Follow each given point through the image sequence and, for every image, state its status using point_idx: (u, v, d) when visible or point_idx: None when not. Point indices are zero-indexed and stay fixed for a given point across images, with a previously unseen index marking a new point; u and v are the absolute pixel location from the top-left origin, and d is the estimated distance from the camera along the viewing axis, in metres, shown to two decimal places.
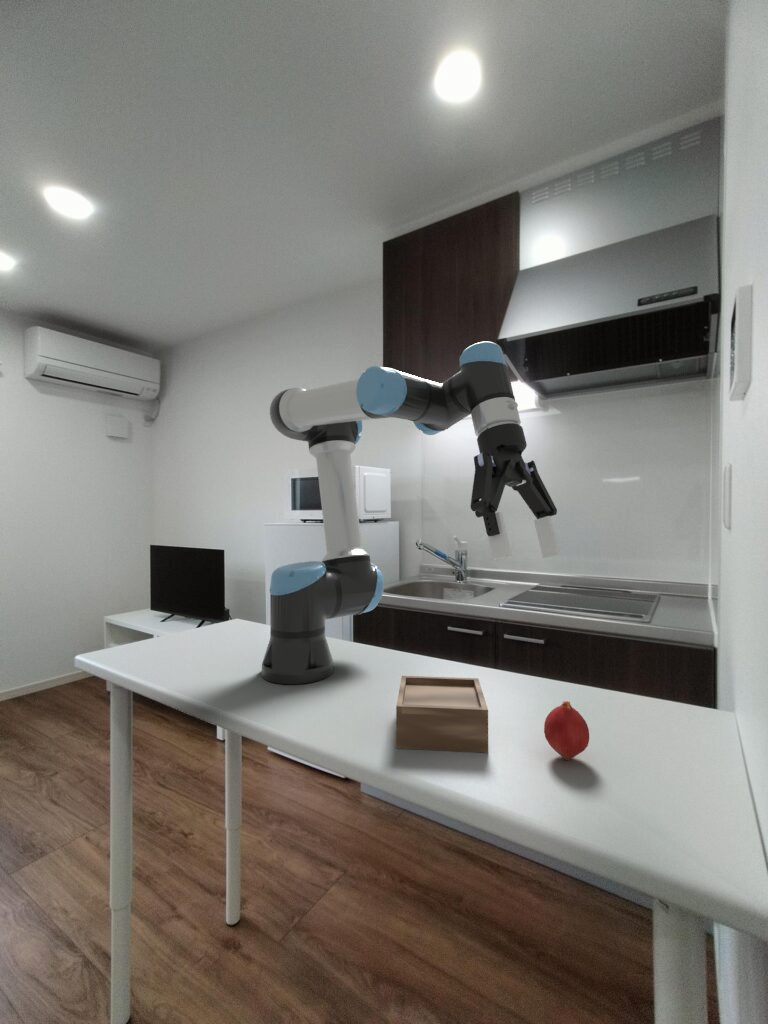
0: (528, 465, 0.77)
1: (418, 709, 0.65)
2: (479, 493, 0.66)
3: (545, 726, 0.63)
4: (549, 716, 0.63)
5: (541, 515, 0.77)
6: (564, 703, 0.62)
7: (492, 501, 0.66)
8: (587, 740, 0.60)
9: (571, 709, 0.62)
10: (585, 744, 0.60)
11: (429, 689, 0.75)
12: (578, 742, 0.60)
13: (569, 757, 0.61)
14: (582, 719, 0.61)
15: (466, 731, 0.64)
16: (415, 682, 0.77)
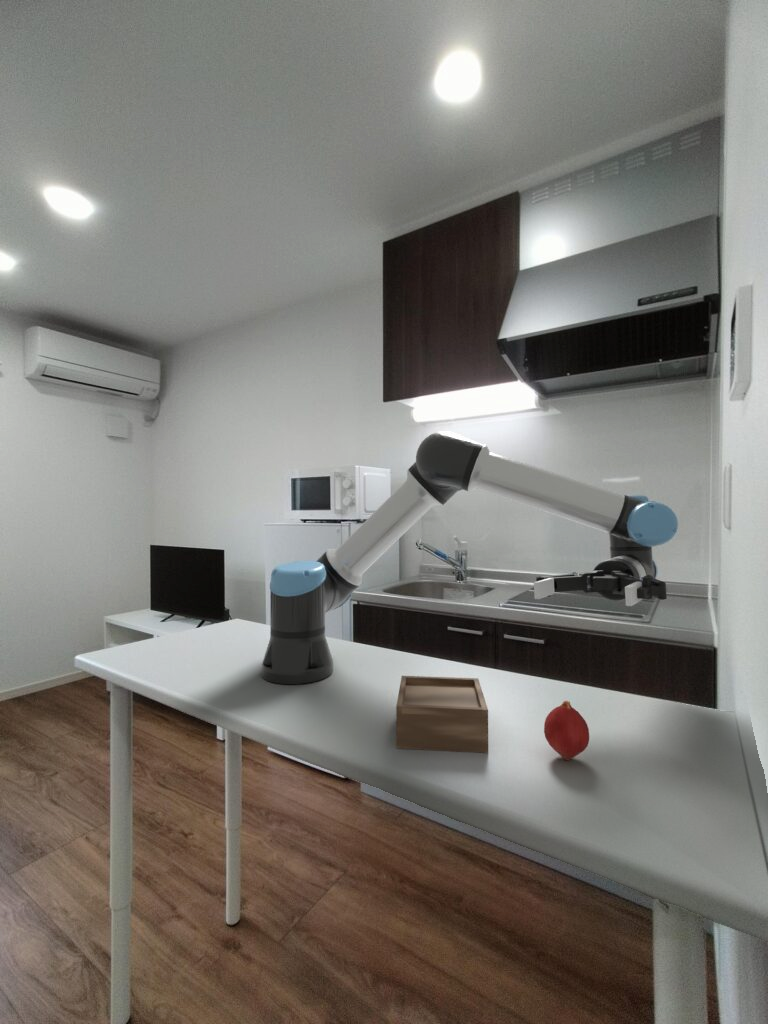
0: None
1: (418, 709, 0.65)
2: None
3: (545, 726, 0.63)
4: (549, 716, 0.63)
5: None
6: (564, 703, 0.62)
7: None
8: (587, 740, 0.60)
9: (571, 709, 0.62)
10: (585, 744, 0.60)
11: (429, 689, 0.75)
12: (578, 742, 0.60)
13: (569, 757, 0.61)
14: (582, 719, 0.61)
15: (466, 731, 0.64)
16: (415, 682, 0.77)
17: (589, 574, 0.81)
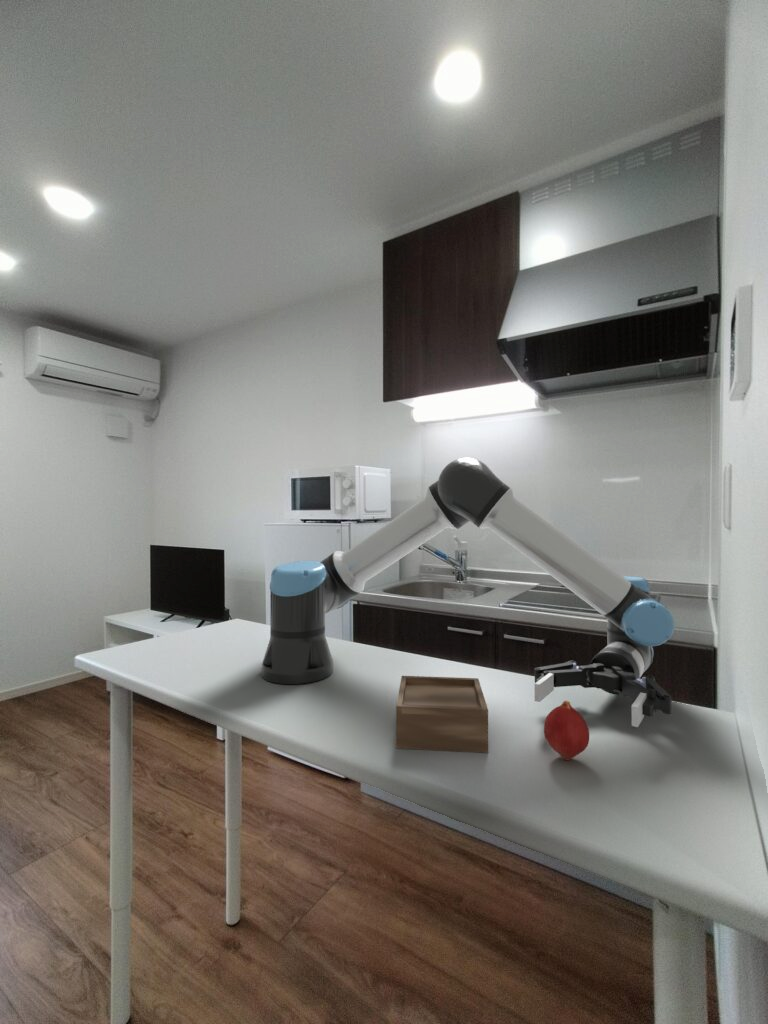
0: None
1: (418, 709, 0.65)
2: None
3: (545, 726, 0.63)
4: (549, 716, 0.63)
5: None
6: (564, 703, 0.62)
7: None
8: (587, 740, 0.60)
9: (571, 709, 0.62)
10: (585, 744, 0.60)
11: (429, 689, 0.75)
12: (578, 742, 0.60)
13: (569, 757, 0.61)
14: (582, 719, 0.61)
15: (466, 731, 0.64)
16: (415, 682, 0.77)
17: (589, 669, 0.78)
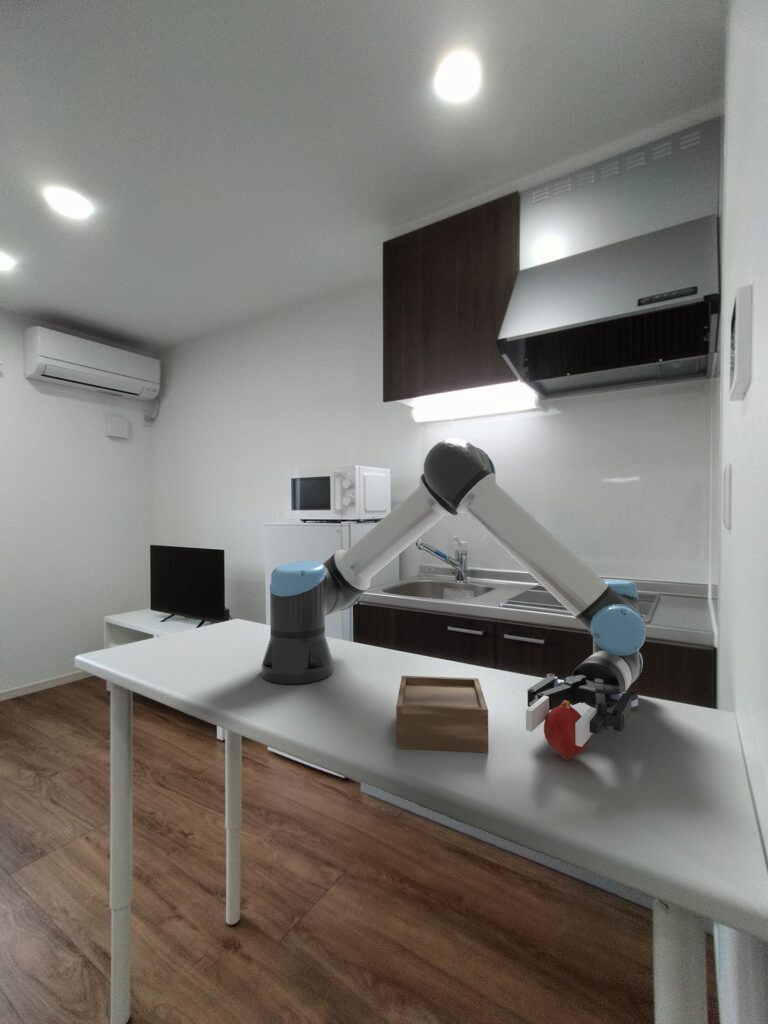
0: None
1: (418, 709, 0.65)
2: (624, 719, 0.62)
3: (545, 726, 0.63)
4: (548, 716, 0.63)
5: None
6: (563, 703, 0.62)
7: None
8: (587, 740, 0.60)
9: (570, 709, 0.62)
10: (584, 744, 0.60)
11: (429, 689, 0.75)
12: None
13: (569, 757, 0.61)
14: None
15: (466, 731, 0.64)
16: (415, 682, 0.77)
17: (576, 683, 0.70)
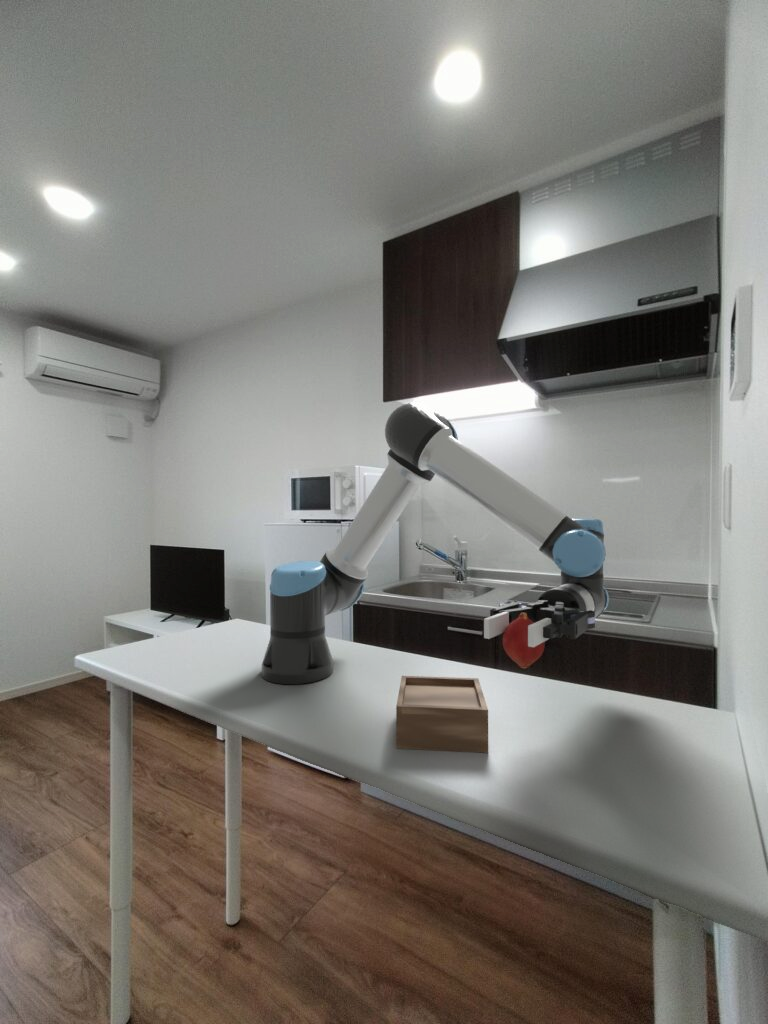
0: None
1: (418, 709, 0.65)
2: (578, 629, 0.65)
3: (503, 637, 0.66)
4: (507, 627, 0.66)
5: None
6: (521, 614, 0.65)
7: None
8: (542, 647, 0.63)
9: (527, 620, 0.65)
10: (539, 650, 0.63)
11: (429, 689, 0.75)
12: (533, 647, 0.63)
13: (525, 664, 0.64)
14: None
15: (466, 731, 0.64)
16: (415, 682, 0.77)
17: (537, 605, 0.73)
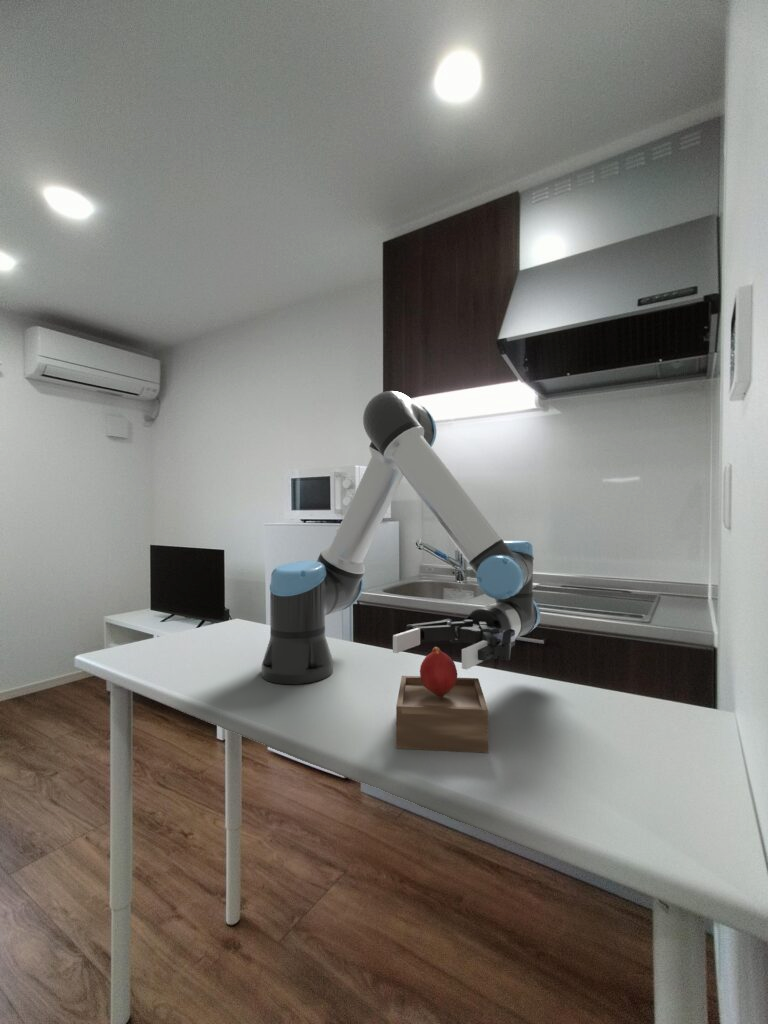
0: None
1: (418, 709, 0.65)
2: None
3: (420, 670, 0.71)
4: (423, 661, 0.71)
5: None
6: (433, 649, 0.70)
7: None
8: (453, 679, 0.69)
9: (440, 654, 0.70)
10: (451, 682, 0.69)
11: None
12: (444, 681, 0.68)
13: (440, 694, 0.70)
14: (449, 661, 0.70)
15: (466, 731, 0.64)
16: (415, 682, 0.77)
17: (458, 624, 0.80)
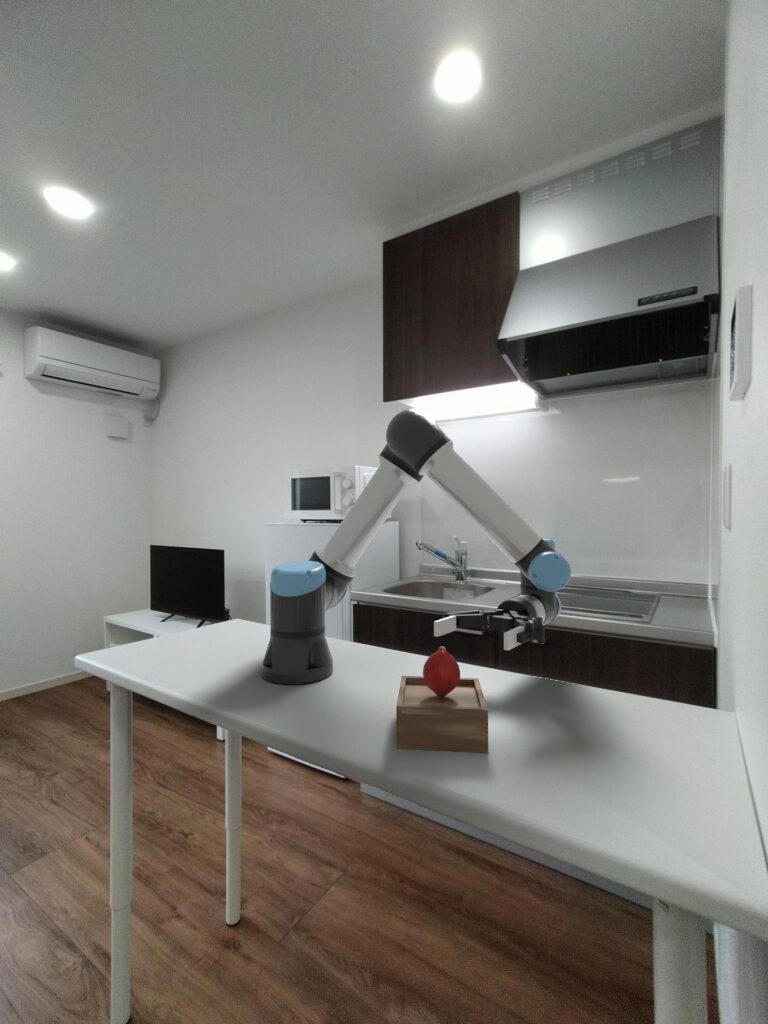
0: None
1: (418, 709, 0.65)
2: None
3: (423, 668, 0.72)
4: (427, 659, 0.72)
5: None
6: (439, 648, 0.71)
7: None
8: (456, 679, 0.69)
9: (445, 653, 0.71)
10: (453, 682, 0.69)
11: (429, 689, 0.75)
12: (447, 679, 0.69)
13: (441, 694, 0.70)
14: (454, 661, 0.70)
15: (466, 731, 0.64)
16: (415, 682, 0.77)
17: (489, 613, 0.89)
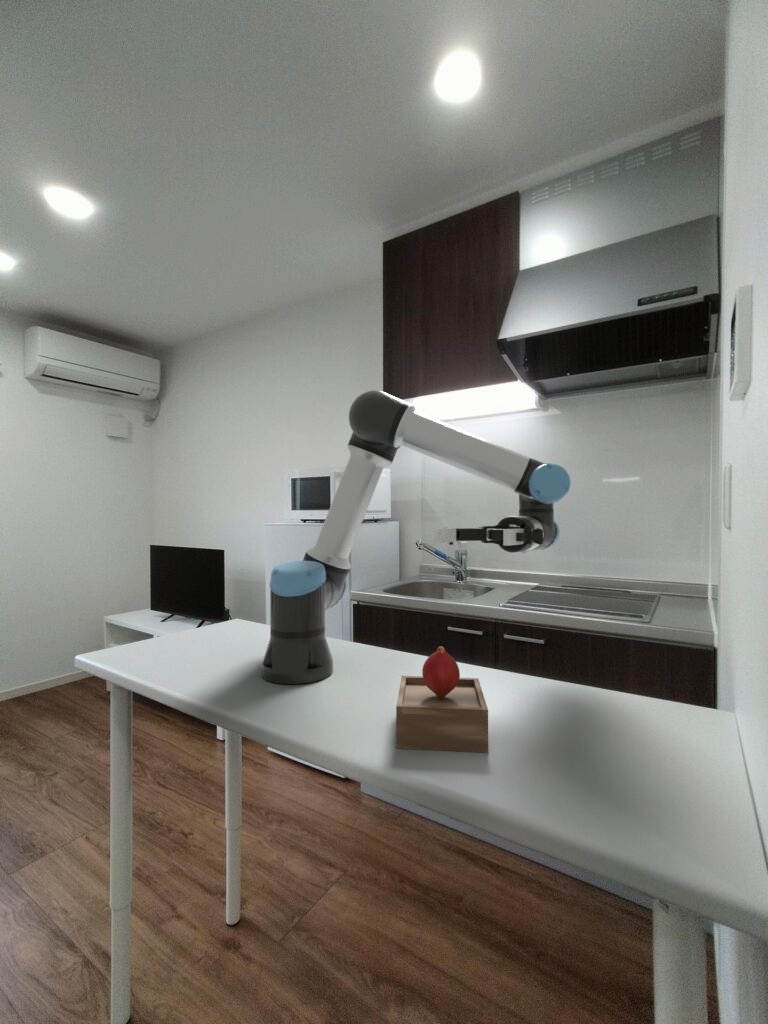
0: None
1: (418, 709, 0.65)
2: None
3: (423, 669, 0.72)
4: (426, 660, 0.72)
5: None
6: (438, 648, 0.71)
7: None
8: (455, 679, 0.69)
9: (444, 653, 0.71)
10: (453, 682, 0.69)
11: (429, 689, 0.75)
12: (447, 680, 0.69)
13: (441, 695, 0.70)
14: (453, 661, 0.70)
15: (466, 731, 0.64)
16: (415, 682, 0.77)
17: (489, 527, 0.91)
